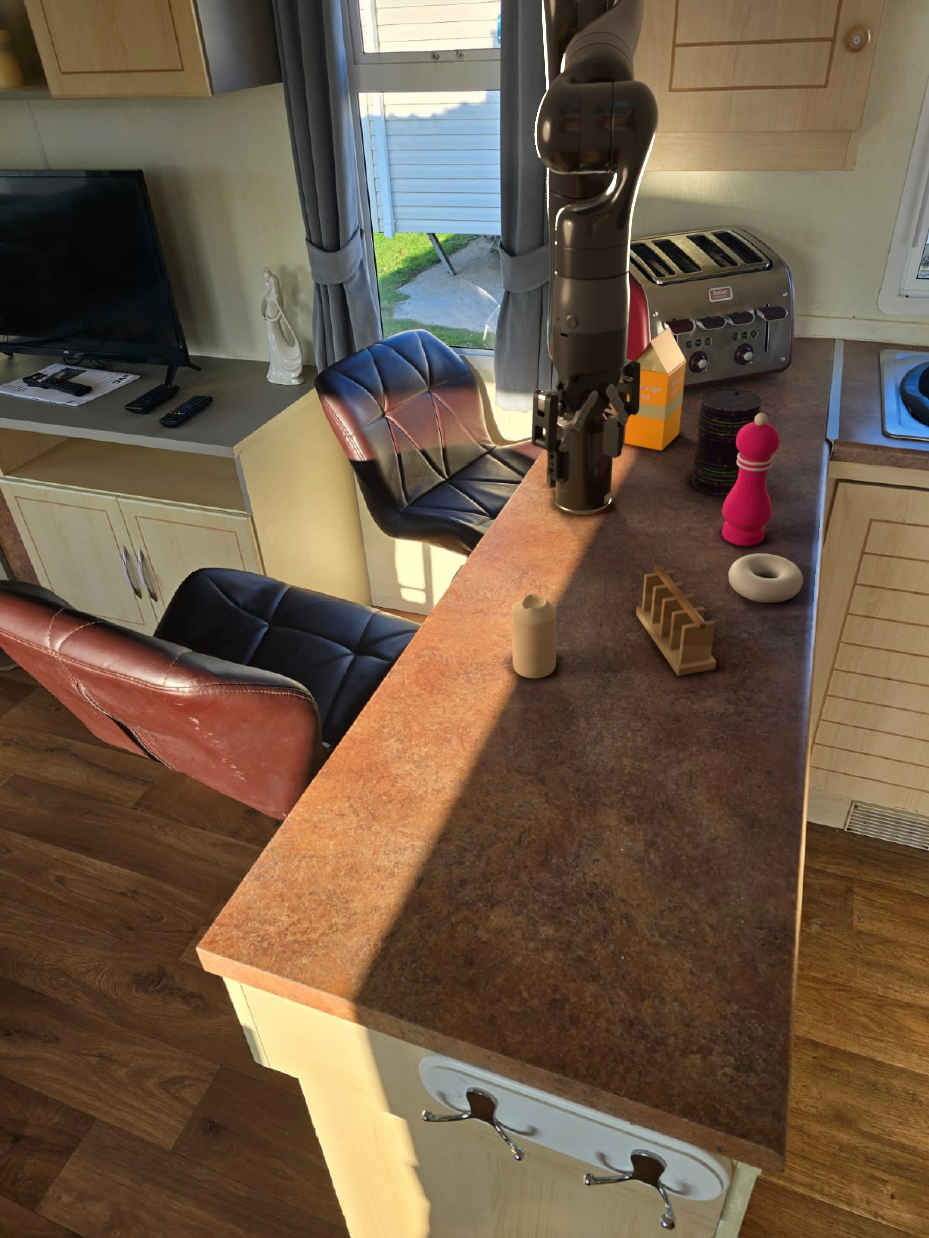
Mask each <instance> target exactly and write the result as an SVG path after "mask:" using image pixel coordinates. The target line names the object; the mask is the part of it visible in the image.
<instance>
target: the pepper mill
mask: <svg viewBox="0 0 929 1238" xmlns="http://www.w3.org/2000/svg"><path fill="white" fill-rule="evenodd" d="M768 421H769V418H768V415H766V413H763V412H760V414H758V415H756V417H755V422H752V423H749V424H747V425H745V426H744V427H742V428H741V430H740V431H739V433H738V435H737V439H736V446H737V449H738V450H739V452H740V453H738V456H737V457H738V460H737V465H738V466H739V474H738V479H737V481H736V483H735V485H734V487H733V488H732V490H731V491H730V493H729V494H728V495H726V497H725V500H724V502H723V505H722V509H721V514H722V517H723V519H724V520H725V521H724V522H723V525H722V532H721V534H722V537H723V539H724V540H725V541H727V542H728V543H731V544H733V545H737V546H743V547H748V546H749V547H750V546H756V545H759V544H760V543H762V542H763V541H764V539H765V535H766V526H765V525H766V524H767V523H769V522H770V520H771V518H772V512H773V511H772V510H773V505H772V501H771V497H770V494H769V491H768V489H767V474H768V472H769V469H771V468H772V467H773V461H774V454H775V453H776V452H777V451H778V449H779V447H780V441H781V438H780V437H781V436H780V433H779V431H778V430H777V428H776V427H775V426H774V425H772V424H771V423H768Z"/></svg>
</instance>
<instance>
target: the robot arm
mask: <svg viewBox="0 0 929 1238" xmlns="http://www.w3.org/2000/svg"><path fill="white" fill-rule="evenodd" d="M541 7H542V29H543V31H542V32H543V46H544V61H545V62H544V63H545V78H546V92H545V93H544V96H542V97H543V98H542V100H541V103H540V105H539V108H538V112H537V116H536V121H535V129H534V131H535V132H534V137H535V138H534V139H535V145H536V151H537V154H538V157H539V158H540V160H541V162H542V164H543V165H544V166H545V167H546V169H547V177H546V179H547V180H546V185H547V186H546V187H547V188H546V189H547V190H546V191H547V193H546V195H547V196H546V197H547V199H546V201H547V223H548V247H549V277H548V278H549V279H548V280H549V283H548V299H547V300H548V301H547V302H548V303H547V319H546V321H547V322H546V323H547V324H546V342H547V350H548V355H549V358H550V359H551V361H552V365H553V367H554V368H555V370H556V373H557V381H556V384H555V387H554V388H552V389H549V390H543V389H541V388H540V389H539V388H538V389H535V391H534V392H533V395H532V415H531V417H532V418H531V445H532V446H534V447H537V448H540V449H543V450H545V451H547V454H546V455H547V462H546V464H547V465H546V484H547V485H548V486H549V488H550V489H551V488H555V495H554V504H555V506H556V508H557V509H558V510H559V511H561V512H564V513H566V514H570V515H575V516H592V515H597V514H600V513H603V512H605V511H606V510H608V509H609V508H610V507H611V505H612V498H613V497H614V489H612V482H613V481H612V480H613V479H612V477H613V461H614V460H613V459H617V458H619V457H620V456H622V451H623V447H624V441H625V426H626V423H627V422H628V417H629V416H630V415H636V414H637V413H638V412H639V405H640V367H641V366H640V363H639V362H636V361H635V360H632V359H628V358H627V355H628V339H629V338H628V337H629V335H628V334H629V319H630V302H631V287H630V273H629V272H630V270H629V269H630V253H631V237H632V236H631V235H632V224H633V217H634V211H635V206H636V201H637V198H638V194H639V190H640V186H641V183H642V180H643V176H644V174H645V170H646V168H647V164H648V161H649V158H650V155H651V152H652V149H653V146H654V143H655V138H656V135H657V131H658V126H659V107H658V103H657V100H656V97H655V95H654V93H653V91H652V90H651V88H650V87H649V86H648V84H646V83H644V82H643V81H639V80H635V66H634V65H635V64H634V58H635V55H636V51H637V48H638V45H639V44H638V43H639V41H640V36H641V32H642V27H643V26H642V25H643V19H644V13H645V12H644V11H645V0H542V1H541ZM628 395H629V401H627V396H628ZM544 430H545V431H544ZM544 432H545V435H544Z"/></svg>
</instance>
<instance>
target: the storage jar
mask: <svg viewBox="0 0 929 1238" xmlns="http://www.w3.org/2000/svg"><path fill="white" fill-rule="evenodd" d="M700 397H701V398H700V406H699V412H698V419H697V420H698V422H697V432H698V434H697V445H696V449H695V451H694V458H693V463H692V474H693V475H692V477H691V483H692V486H693V487H695V488H696V489H698V490H700V491H701V492H704V493H707V494H712V495H717V496H728V494H729V493H730V491H731V490H732V488H733V487H734V485H735V483H736V481H737V479H738V474H739V466H738V465H737V460H738V457H737V456H738V453H740V452H739V450H738V449H737V446H736V439H737V435H738V433H739V431H740V430H741V428H742V427H744V426H745V425H747V424H749V423H752V422H755V417H756V415H758V414H760V413H762V410H761V409H762V407H763V406H762V405H763V398H762V396H761V395H759V394H758V393H755V392H753V391H750V390H748V389H747V390H746V389H742V388H732V387H731V388H729V387H728V388H716V389H712V390H709V391H706V392H704V393H703V394H702V395H701V396H700Z"/></svg>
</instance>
